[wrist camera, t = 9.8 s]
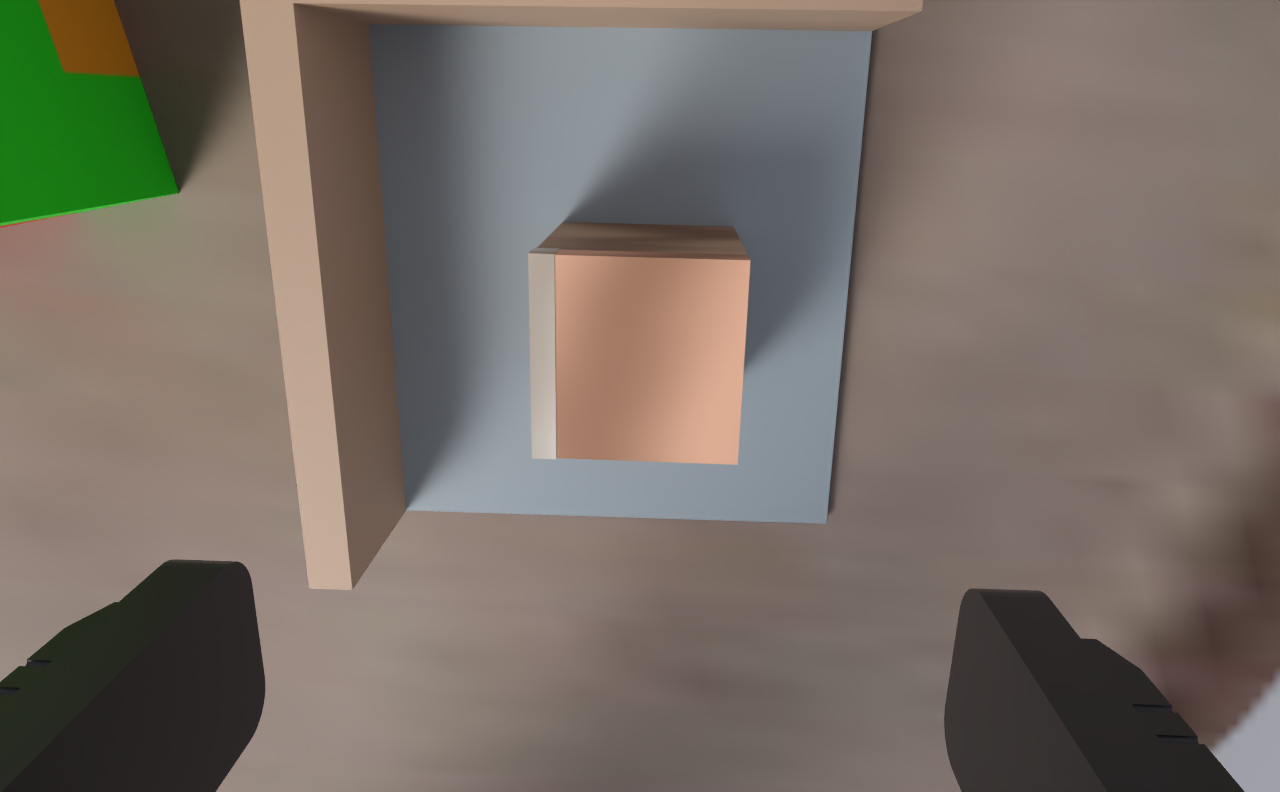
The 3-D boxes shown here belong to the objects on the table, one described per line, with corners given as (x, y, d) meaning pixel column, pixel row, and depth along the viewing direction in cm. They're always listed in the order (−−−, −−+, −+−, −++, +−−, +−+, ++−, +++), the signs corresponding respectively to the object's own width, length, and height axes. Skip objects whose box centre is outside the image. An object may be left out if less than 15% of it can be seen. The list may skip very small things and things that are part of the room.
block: (733, 225, 25) (750, 259, 20) (724, 390, 27) (737, 465, 21) (561, 221, 25) (527, 253, 20) (562, 384, 27) (531, 458, 21)
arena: (824, 518, 29) (856, 607, 23) (373, 504, 29) (309, 588, 24) (873, -16, 23) (928, -51, 18) (327, -22, 24) (232, -58, 19)
